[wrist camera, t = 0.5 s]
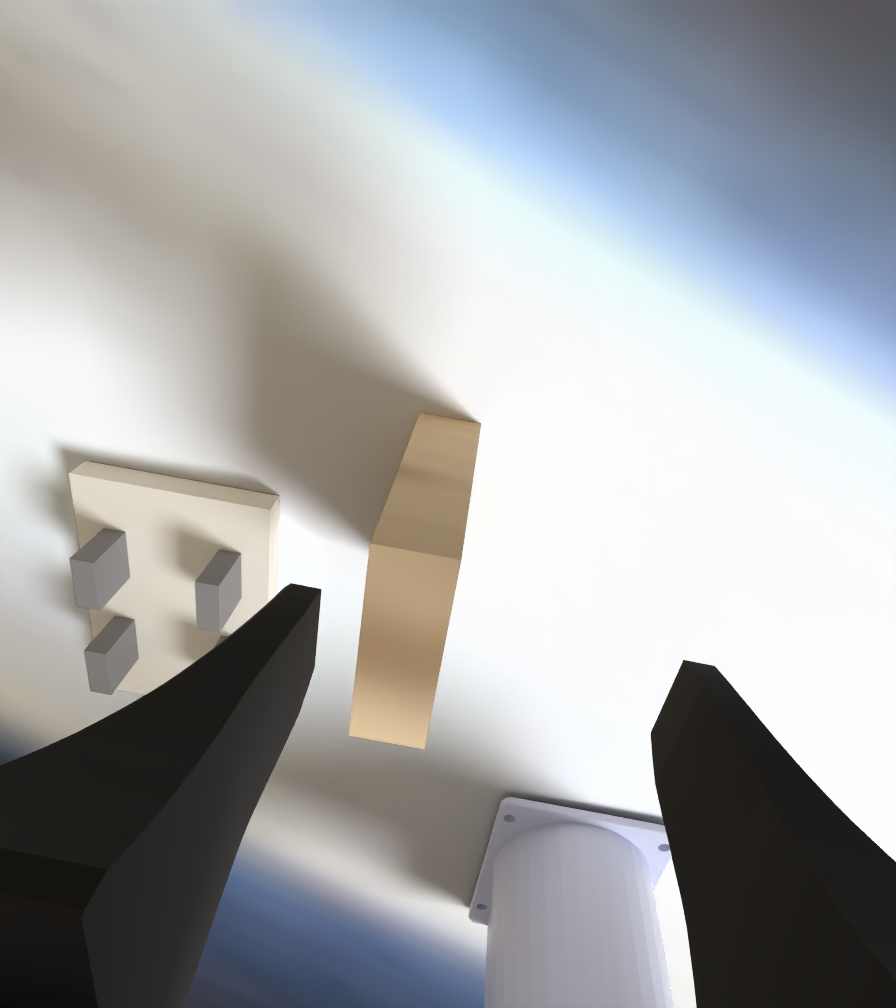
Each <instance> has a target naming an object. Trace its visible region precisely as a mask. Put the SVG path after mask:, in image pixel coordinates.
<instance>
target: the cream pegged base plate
mask: <svg viewBox="0 0 896 1008" xmlns="http://www.w3.org/2000/svg"><path fill="white" fill-rule="evenodd" d="M69 479H70V486H71V493H72V500H73V506H74V513H75V520H76V527H77V533H78V540H79V547H80V550H79V551H78V552H76V553H75V554H74V555H73V556H72V557H71V558H70V565H71V571H72V578H73V584H74V590H75V597H76V603H77V607H81V608H87V609H89V614H90V621H91V628H92V635H93V641H92V642H91V643H90V644H89V645H88V647H87V648H86V649H85V650H84V653H85V660H86V666H87V672H88V679H89V685H90V691H93V692H98V693H104V694H109V695H112V693H113V692H114V691H115V689H116V690H121V691H127V692H132V693H137V694H143V695H146V694H148V693H149V692H151V691H153V690H154V689H156V688H157V687H159V686H160V685H162V684H164V683H165V682H167V681H168V680H170V679H171V678H173V677H174V676H176V675H177V674H179V673H180V672H181V671H183V670H184V669H186V668H187V667H188V666H190V665H191V664H193V663H194V662H195V661H197V660H198V659H199V658H201V657H202V656H204V655H205V654H206V653H208V652H209V651H210V650H212V649H213V648H214V647H216V646H217V645H218V644H220V643H221V642H222V641H223V640H224V639H226V638H227V637H228V636H229V635H231V634H232V633H233V632H234V631H236V630H237V629H238V628H239V627H240V626H242V625H243V624H244V623H245V622H247V621H248V620H249V619H250V618H251V617H252V616H253V615H255V614H256V613H257V612H258V611H259V610H260V609H262V608H263V607H264V606H265V605H266V604H267V603H268V602H269V601H270V600H272V599H273V598H274V597H275V596H276V595H277V569H278V535H279V501H280V496H276V495H271V494H265V493H260V492H254V491H249V490H243V489H238V488H232V487H227V486H221V485H216V484H210V483H204V482H199V481H193V480H188V479H182V478H177V477H171V476H166V475H160V474H155V473H149V472H144V471H138V470H133V469H127V468H122V467H116V466H111V465H105V464H100V463H94V462H89V461H85V462H83V463H82V464H81V465H79V466H78V467H76V468H75V469H74V470H72V471H71V472H70V473H69Z"/></svg>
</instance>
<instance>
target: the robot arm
mask: <svg viewBox="0 0 896 1008" xmlns="http://www.w3.org/2000/svg"><path fill="white" fill-rule="evenodd" d="M320 599H321V589H317V588H312V587H307V586H302V585H297V584H292V583H291V584H289V585H288V586H286V587H285V588H283V589H282V590H281V591H280V592H279V593H278V594H277V595H276V596H275V597H274V598H273V599H272V600H270V601H269V602H268V603H267V604H266V605H265V606H264V607H263V608H262V609H260V610H259V611H258V612H257V613H256V614H255V615H253V616H252V617H251V618H250V619H249V620H248V621H247V622H245V623H244V624H243V625H242V626H240V627H239V628H238V629H237V630H236V631H234V632H233V633H232V634H231V635H229V636H228V637H227V638H226V639H224V640H223V641H222V642H221V643H220V644H218V645H217V646H216V647H214V648H213V649H212V650H210V651H209V652H208V653H206V654H205V655H204V656H202V657H201V658H199V659H198V660H197V661H195V662H194V663H193V664H191V665H190V666H188V667H187V668H186V669H184V670H183V671H181V672H180V673H179V674H177V675H176V676H174V677H173V678H171V679H170V680H168V681H167V682H165V683H164V684H162V685H160V686H159V687H157V688H156V689H154V690H153V691H151V692H149V693H148V694H146V695H144V696H143V697H141V698H139V699H138V700H136V701H134V702H133V703H131V704H129V705H127V706H126V707H124V708H122V709H120V710H118V711H117V712H115V713H113V714H111V715H109V716H107V717H106V718H104V719H102V720H100V721H98V722H96V723H94V724H92V725H90V726H88V727H86V728H84V729H83V730H81V731H79V732H77V733H75V734H72V735H70V736H68V737H66V738H64V739H62V740H59V741H57V742H55V743H53V744H51V745H48V746H46V747H44V748H42V749H39V750H37V751H35V752H32V753H30V754H28V755H25V756H23V757H20V758H18V759H16V760H13V761H11V762H8V763H6V764H3V765H1V766H0V1008H184V1005H185V1002H186V999H187V996H188V993H189V990H190V987H191V984H192V981H193V978H194V975H195V972H196V969H197V966H198V963H199V960H200V957H201V954H202V951H203V948H204V945H205V942H206V939H207V936H208V933H209V930H210V928H211V925H212V922H213V919H214V916H215V913H216V910H217V907H218V904H219V902H220V899H221V896H222V893H223V890H224V887H225V884H226V882H227V879H228V876H229V873H230V870H231V868H232V865H233V862H234V859H235V857H236V854H237V851H238V848H239V845H240V843H241V840H242V837H243V835H244V833H245V830H246V828H247V825H248V823H249V821H250V818H251V816H252V814H253V812H254V809H255V807H256V805H257V803H258V801H259V799H260V797H261V794H262V792H263V790H264V788H265V786H266V784H267V782H268V780H269V777H270V775H271V773H272V771H273V769H274V767H275V765H276V762H277V760H278V758H279V756H280V754H281V752H282V750H283V748H284V745H285V743H286V741H287V739H288V737H289V735H290V732H291V730H292V728H293V726H294V724H295V722H296V719H297V717H298V715H299V713H300V710H301V707H302V704H303V701H304V698H305V695H306V692H307V689H308V686H309V683H310V680H311V677H312V673H313V670H314V667H315V656H316V645H317V633H318V622H319V611H320ZM651 743H652V756H653V767H654V776H655V784H656V789H657V794H658V799H659V803H660V808H661V812H662V816H663V821H664V825H660V824H654V823H649V822H644V821H638V820H633V819H628V818H622V817H617V816H611V815H606V814H601V813H595V812H590V811H585V810H579V809H574V808H569V807H563V806H558V805H553V804H547V803H542V802H537V801H531V800H526V799H521V798H515V797H507V798H505V799H503V800H502V801H501V803H500V806H499V809H498V813H497V816H496V820H495V823H494V826H493V830H492V833H491V837H490V840H489V843H488V847H487V850H486V854H485V857H484V860H483V864H482V867H481V871H480V874H479V877H478V881H477V884H476V888H475V891H474V894H473V898H472V901H471V904H470V908H469V919H470V920H471V921H472V922H474V923H478V924H484V925H488V931H487V954H486V977H485V1000H484V1008H674V1003H673V997H672V992H671V986H670V980H669V975H668V969H667V964H666V958H665V952H664V947H663V941H662V936H661V930H660V924H659V919H658V913H657V908H656V902H655V896H654V891H653V890H654V888H655V886H656V884H657V883H658V881H659V879H660V877H661V875H662V873H663V871H664V869H665V867H666V865H667V863H668V862H669V860H670V858H671V856H672V860H673V864H674V869H675V873H676V877H677V882H678V886H679V890H680V895H681V899H682V904H683V909H684V914H685V920H686V925H687V932H688V939H689V947H690V955H691V963H692V970H693V978H694V986H695V995H696V1005H697V1008H896V862H895V861H894V860H893V859H892V858H891V857H890V856H888V855H887V854H886V853H885V852H884V851H883V850H882V849H881V848H880V847H879V846H878V845H877V844H876V843H875V842H874V841H872V840H871V839H870V838H869V837H868V836H867V835H866V834H865V833H864V832H863V831H862V830H861V829H860V828H859V827H858V826H857V825H855V824H854V823H853V822H852V821H851V820H850V819H849V818H848V817H847V816H846V815H845V814H844V813H843V812H842V811H841V810H840V809H839V808H838V807H837V806H836V805H835V804H834V803H833V801H832V800H831V799H830V798H829V797H828V796H827V795H826V794H825V793H824V792H823V791H822V790H821V789H820V788H819V787H818V786H817V784H816V783H815V782H814V781H813V780H812V779H811V778H810V777H809V776H808V775H807V774H806V773H805V772H804V770H803V769H802V768H801V767H800V766H799V765H798V764H797V763H796V761H795V760H794V759H793V758H792V757H791V756H790V755H789V754H788V752H787V751H786V750H785V749H784V748H783V747H782V745H781V744H780V743H779V742H778V741H777V740H776V738H775V737H774V736H773V735H772V734H771V733H770V731H769V730H768V729H767V728H766V727H765V725H764V724H763V723H762V722H761V721H760V719H759V718H758V717H757V716H756V715H755V713H754V712H753V711H752V710H751V708H750V707H749V706H748V705H747V704H746V702H745V701H744V700H743V699H742V698H741V696H740V695H739V694H738V693H737V692H736V690H735V689H734V688H733V687H732V686H731V684H730V683H729V682H728V681H727V680H726V678H725V677H724V676H723V675H722V674H721V673H720V672H719V670H718V669H717V668H716V667H715V666H711V665H706V664H701V663H696V662H691V661H686V660H683V663H682V665H681V667H680V669H679V672H678V674H677V676H676V678H675V680H674V683H673V685H672V687H671V689H670V692H669V694H668V696H667V698H666V700H665V703H664V705H663V707H662V709H661V712H660V714H659V716H658V718H657V720H656V723H655V725H654V727H653V729H652V731H651Z"/></svg>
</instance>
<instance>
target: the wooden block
mask: <svg viewBox="0 0 896 1008" xmlns="http://www.w3.org/2000/svg"><path fill="white" fill-rule="evenodd" d="M480 427H481V424H480V423H474V422H469V421H463V420H458V419H452V418H447V417H441V416H435V415H430V414H424V413H420V414H419V417H418V419H417V422H416V424H415V427H414V430H413V432H412V435H411V438H410V440H409V443H408V445H407V448H406V451H405V453H404V456H403V458H402V461H401V464H400V466H399V469H398V471H397V474H396V477H395V479H394V482H393V485H392V487H391V490H390V492H389V495H388V498H387V500H386V503H385V505H384V508H383V511H382V513H381V516H380V519H379V521H378V524H377V526H376V529H375V532H374V534H373V537H372V539H371V542H370V548H369V557H368V566H367V575H366V584H365V593H364V602H363V611H362V620H361V629H360V638H359V647H358V656H357V665H356V674H355V683H354V692H353V701H352V710H351V719H350V728H349V736H355V737H360V738H365V739H371V740H376V741H381V742H387V743H392V744H397V745H403V746H408V747H414V748H419V749H424V748H425V743H426V738H427V733H428V728H429V723H430V718H431V712H432V707H433V702H434V697H435V692H436V687H437V682H438V676H439V671H440V666H441V661H442V656H443V651H444V646H445V640H446V635H447V630H448V625H449V620H450V615H451V610H452V604H453V599H454V594H455V589H456V584H457V579H458V574H459V569H460V563H461V558H462V551H463V544H464V537H465V530H466V523H467V516H468V510H469V503H470V496H471V489H472V482H473V475H474V468H475V462H476V455H477V448H478V441H479V434H480Z"/></svg>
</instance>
